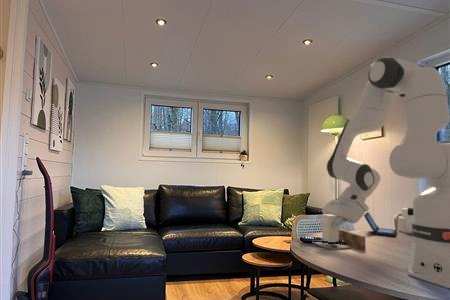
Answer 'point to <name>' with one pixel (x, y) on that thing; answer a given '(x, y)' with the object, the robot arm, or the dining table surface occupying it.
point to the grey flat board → (331, 246)
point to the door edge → (352, 239)
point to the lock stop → (329, 228)
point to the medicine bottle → (405, 220)
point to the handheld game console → (379, 230)
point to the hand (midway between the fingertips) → (329, 225)
